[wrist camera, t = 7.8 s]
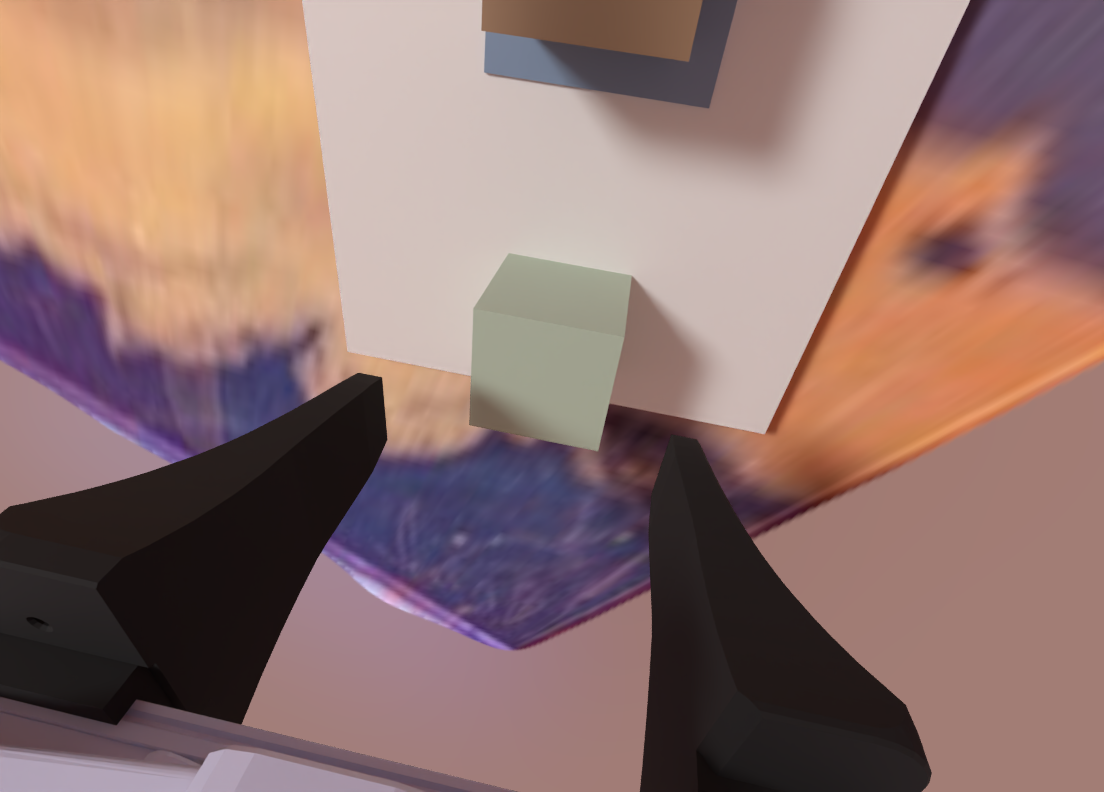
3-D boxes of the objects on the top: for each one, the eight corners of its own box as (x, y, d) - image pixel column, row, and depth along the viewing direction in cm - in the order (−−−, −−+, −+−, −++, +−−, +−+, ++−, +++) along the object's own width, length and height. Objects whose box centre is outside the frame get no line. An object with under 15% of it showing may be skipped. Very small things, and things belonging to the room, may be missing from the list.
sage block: (631, 275, 17) (624, 337, 14) (608, 378, 19) (597, 451, 16) (508, 252, 17) (473, 308, 14) (501, 357, 20) (469, 425, 16)
